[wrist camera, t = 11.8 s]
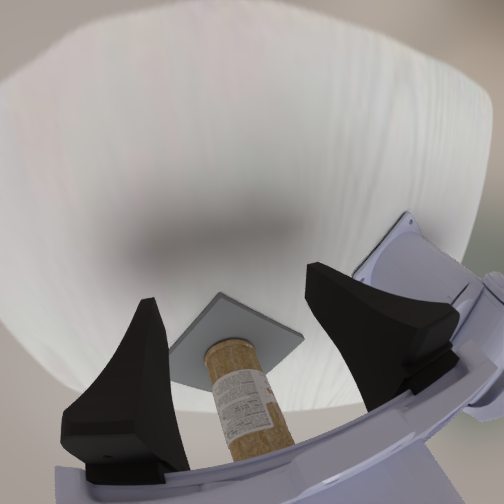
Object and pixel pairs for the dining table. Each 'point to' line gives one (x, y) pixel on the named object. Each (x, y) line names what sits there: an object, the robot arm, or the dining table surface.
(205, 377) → the coaster
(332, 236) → the dining table surface
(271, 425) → the sprinkles bottle
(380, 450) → the robot arm
